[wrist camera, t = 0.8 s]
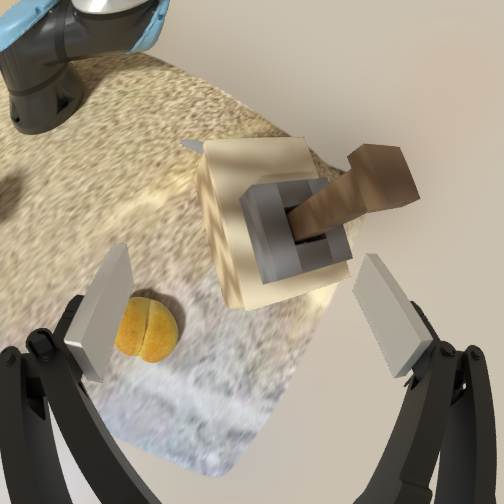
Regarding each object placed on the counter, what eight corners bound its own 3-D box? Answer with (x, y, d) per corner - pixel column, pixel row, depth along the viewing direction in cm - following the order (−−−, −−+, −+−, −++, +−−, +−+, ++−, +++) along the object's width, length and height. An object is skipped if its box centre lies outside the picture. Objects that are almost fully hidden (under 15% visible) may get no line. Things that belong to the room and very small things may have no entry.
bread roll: (168, 367, 35) (170, 373, 31) (107, 345, 32) (102, 349, 29) (185, 311, 37) (189, 311, 34) (124, 288, 35) (121, 286, 31)
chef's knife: (174, 127, 43) (165, 138, 41) (175, 122, 42) (166, 134, 40) (273, 177, 47) (267, 190, 46) (276, 174, 46) (270, 187, 45)
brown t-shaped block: (267, 218, 32) (363, 143, 17) (298, 213, 34) (399, 146, 19) (278, 254, 32) (387, 203, 16) (309, 247, 34) (420, 198, 18)
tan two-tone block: (191, 177, 41) (212, 121, 28) (275, 168, 47) (318, 122, 34) (225, 311, 39) (263, 310, 26) (310, 285, 44) (371, 272, 31)
